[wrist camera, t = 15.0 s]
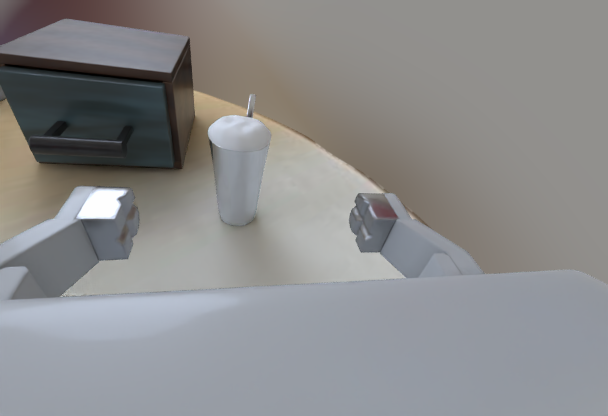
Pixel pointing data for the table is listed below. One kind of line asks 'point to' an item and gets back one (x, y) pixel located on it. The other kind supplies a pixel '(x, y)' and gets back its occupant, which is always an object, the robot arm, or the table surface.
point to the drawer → (90, 117)
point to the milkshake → (238, 164)
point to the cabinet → (115, 64)
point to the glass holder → (2, 94)
